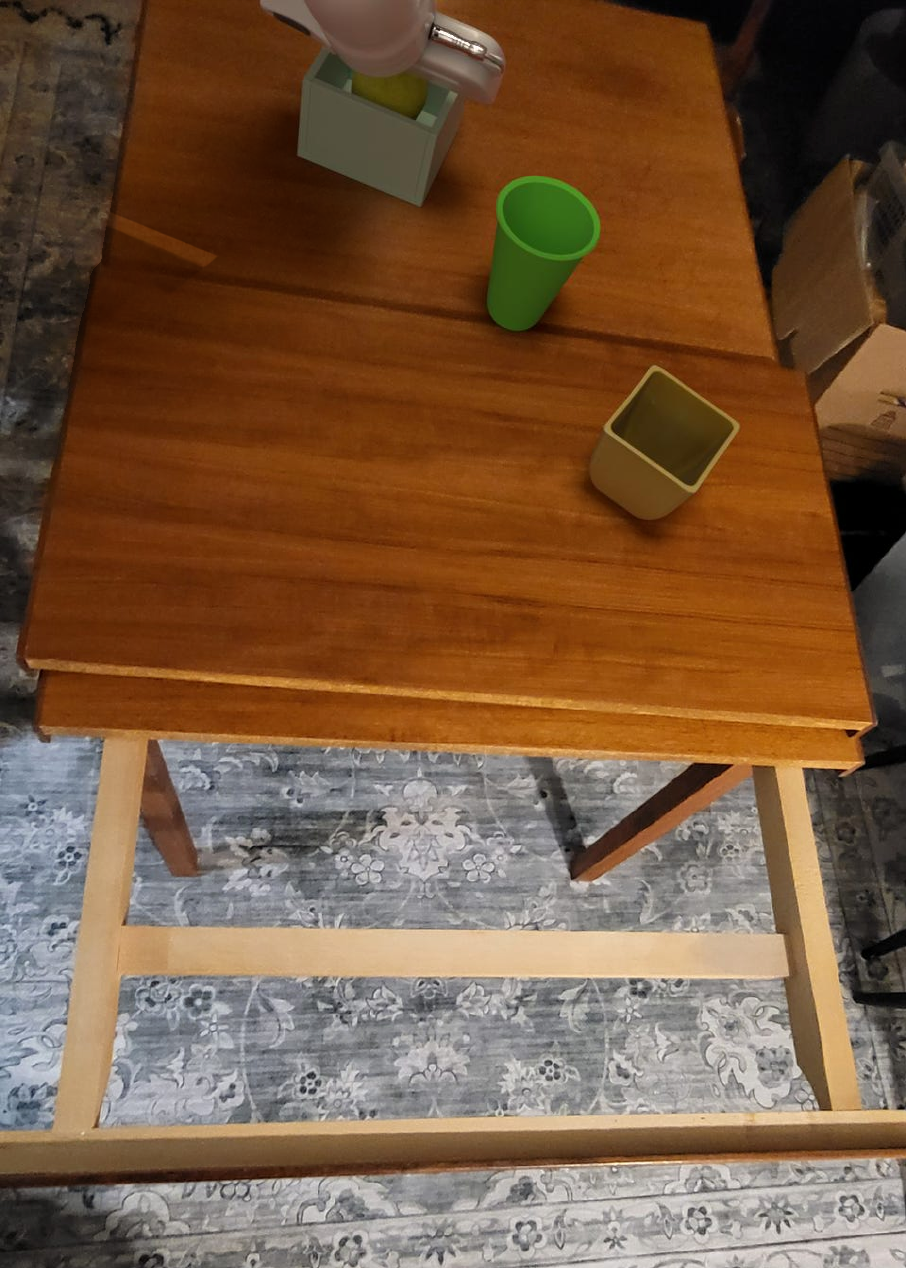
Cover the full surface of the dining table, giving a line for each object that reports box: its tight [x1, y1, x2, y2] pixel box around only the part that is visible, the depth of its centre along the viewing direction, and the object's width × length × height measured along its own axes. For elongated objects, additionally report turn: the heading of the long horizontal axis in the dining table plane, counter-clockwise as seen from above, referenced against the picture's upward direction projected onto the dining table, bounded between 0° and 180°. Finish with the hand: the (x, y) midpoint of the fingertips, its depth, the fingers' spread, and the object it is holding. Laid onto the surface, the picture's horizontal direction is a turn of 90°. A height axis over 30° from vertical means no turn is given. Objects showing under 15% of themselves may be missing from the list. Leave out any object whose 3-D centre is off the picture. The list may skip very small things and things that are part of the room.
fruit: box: [351, 71, 428, 120], centre depth 81 cm, size 7×7×12 cm
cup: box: [486, 175, 602, 332], centre depth 79 cm, size 9×9×11 cm
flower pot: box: [588, 364, 741, 521], centre depth 74 cm, size 9×9×9 cm
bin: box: [296, 46, 467, 208], centre depth 85 cm, size 13×13×8 cm
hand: (397, 56), depth 81 cm, fingers closed on fruit, 5 cm apart
